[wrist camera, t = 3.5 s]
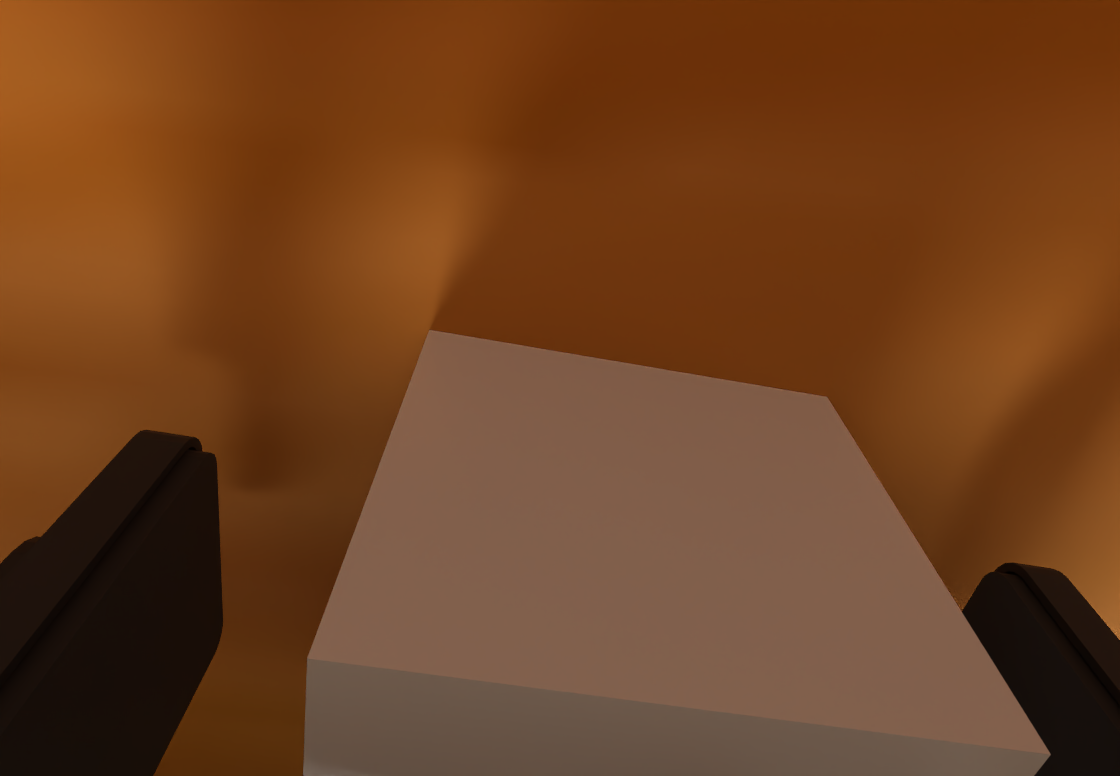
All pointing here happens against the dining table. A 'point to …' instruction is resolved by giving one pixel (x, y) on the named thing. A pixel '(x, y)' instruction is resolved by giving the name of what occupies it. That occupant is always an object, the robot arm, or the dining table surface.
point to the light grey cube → (639, 590)
